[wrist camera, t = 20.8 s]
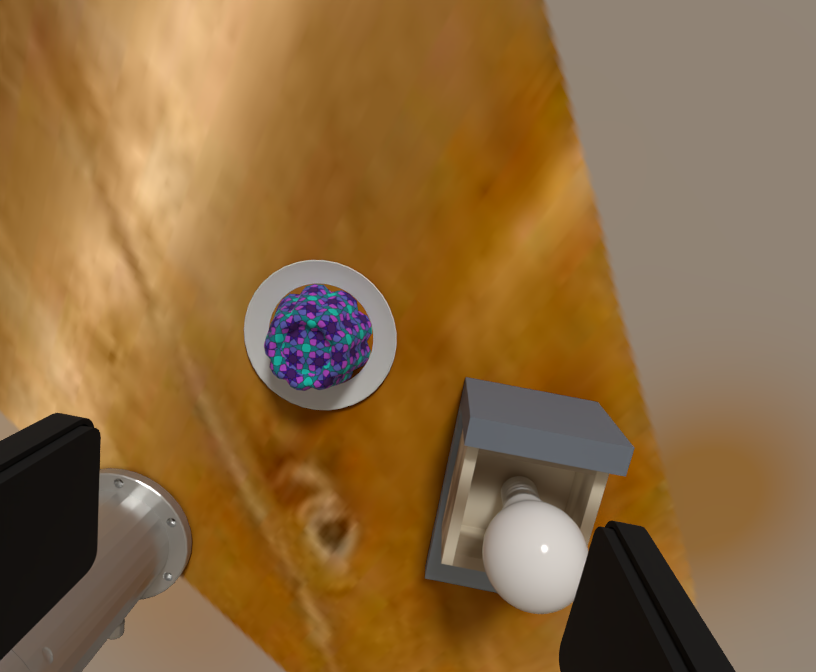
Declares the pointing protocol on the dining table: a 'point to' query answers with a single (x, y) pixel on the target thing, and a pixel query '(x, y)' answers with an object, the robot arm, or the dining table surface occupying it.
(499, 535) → the lightbulb
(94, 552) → the robot arm
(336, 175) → the dining table surface
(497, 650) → the dining table surface
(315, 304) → the pudding
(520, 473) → the box
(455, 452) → the base
